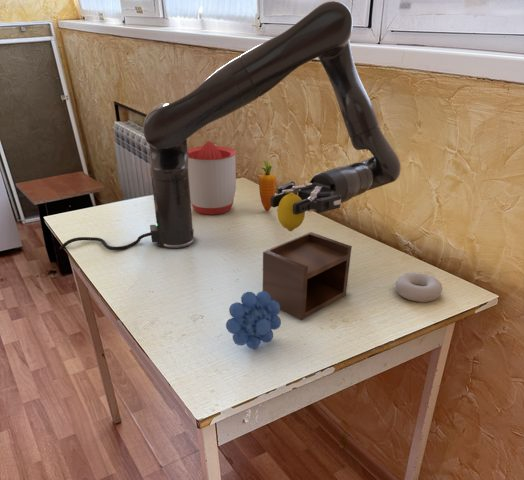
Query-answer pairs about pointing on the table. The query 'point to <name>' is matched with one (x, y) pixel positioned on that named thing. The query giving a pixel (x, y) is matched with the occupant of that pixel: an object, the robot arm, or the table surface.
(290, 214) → the lemon
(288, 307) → the tray
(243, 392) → the table surface
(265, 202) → the carrot
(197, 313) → the table surface
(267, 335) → the grapes
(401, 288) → the donut
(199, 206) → the citrus juicer
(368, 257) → the table surface
